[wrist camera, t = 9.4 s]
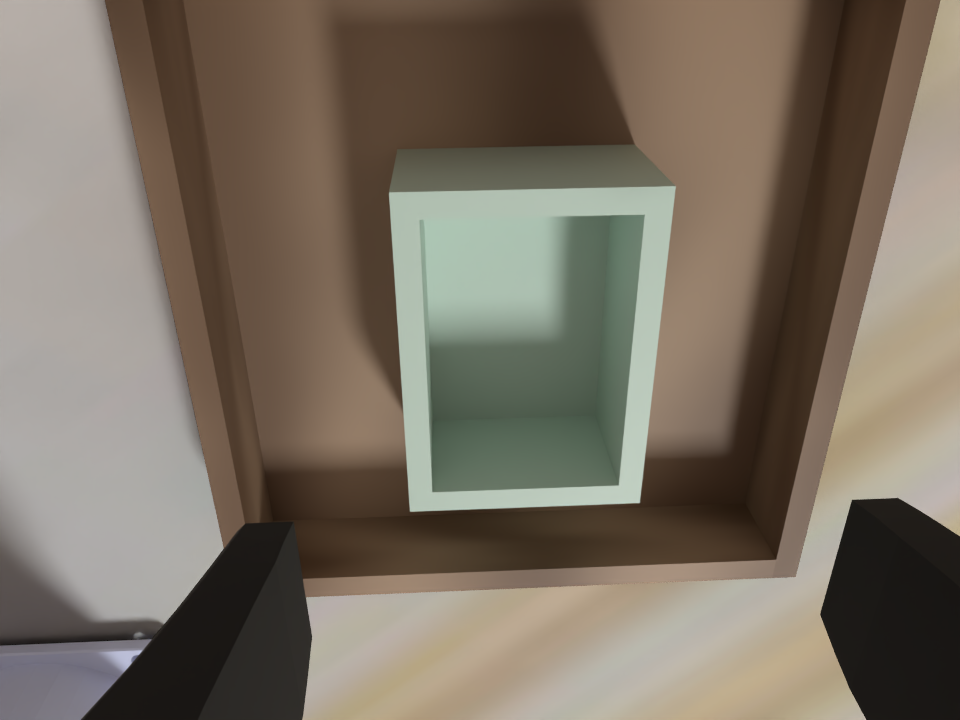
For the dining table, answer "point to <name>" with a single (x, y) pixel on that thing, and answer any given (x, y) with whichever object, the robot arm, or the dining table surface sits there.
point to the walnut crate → (517, 123)
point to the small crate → (527, 321)
